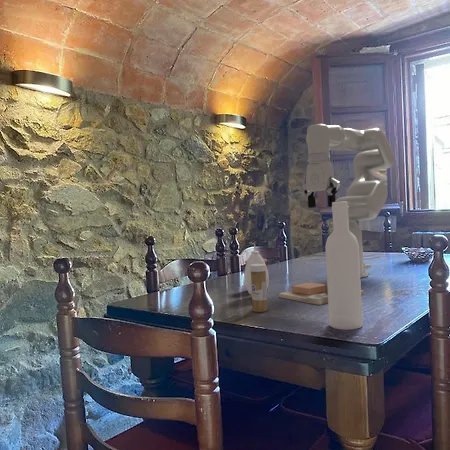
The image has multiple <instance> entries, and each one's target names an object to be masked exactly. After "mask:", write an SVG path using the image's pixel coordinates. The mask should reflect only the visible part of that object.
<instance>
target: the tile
mask: <svg viewBox="0 0 450 450" xmlns="http://www.w3.org/2000/svg"><path fill="white" fill-rule="evenodd" d="M291 291H292V292H295V293H301V294H306V295H312V294H317V293H321V292H325V284H323V283H317V282H304V283H300V284H295V285H294V284H293V285H291Z"/></svg>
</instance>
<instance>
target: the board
mask: <svg viewBox="0 0 450 450" xmlns="http://www.w3.org/2000/svg"><path fill="white" fill-rule="evenodd" d="M319 294H326V293H325V292H321V293H317V294H312V295H306V294H301V293H295V292H292V290H289V291H285V292H280V293H278V296H279V298H281V299H282V298H283V299H288V300H291V301H298V302H302V303H307V304H312V305H313V304H314V305H318V306H321V305H326V304H328V299H324V300H320V301H318V300H313V299H307V297H310V296H314V295H319ZM363 295H365V290H363V289H361V296H363Z"/></svg>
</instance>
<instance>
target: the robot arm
mask: <svg viewBox="0 0 450 450" xmlns="http://www.w3.org/2000/svg"><path fill="white" fill-rule="evenodd" d="M305 141H306V145H307V152H308V153H307V154H308V155H307V156H308V158H307V162H308V164H307V165H306V172H305V173H306V174H305V183H303V185H302V189H303V192H304V194H305V195H306V197H307V205H308V208H309V209H312V208H316V196H315V194H316V193H317V192H324V191H326V192H327V194H328V195H327V206H328V207H329V208H332V203H333V202H344V201H347V202H348V221H349V231H350V232H351V233H352V234H353V235H355V237H356V239H357V241H358V244H359V261H360V279H361V278H366V277H368V275H369V273H368V272H367V271H366V270H369V269H371V264H369V263H366V264H365V263H364V250H363V249H364V248H363V247H364V245H363V232H362V231H363V230H362V228H361V226H359V224H358V223H357V221H371V220H374V219H376V218H377V217H378V216H379V214H380V212H381V211H382V208H383V207H384V206H385V203H386V201H387V198H388V186H387V185H386V183H385V182H384V181H382V180H376V178H375V177H374V175H373V174H372V173H371V172H370V171H377V170H378V171H379V170H386V169H390V168H392V167H393V166H394V165H395V163H396V162H395V161H396V158H395V153H394V150H393V148H392V146H391V144H390V142H389V140H388V137H387V136H386V133H385V132H384V131H383V130H382V129H381V128H379V127H374V128H368V129H362V130H361V129H360V130H359V129H354V128H349V127H346V128H345V127H341V126H340V125H336V124H333V125H327V124H324V123H317V124H310V125H309V126H308V127H307V129H306V136H305ZM330 151H351V152H358V153H356V155H355V156H354V158H353V170H354V171H353V172H354V176H355V178H354V179H353V181H352V183H351V184H350V185H349V187H348V188H347V190H346V193H345V196H342V197H341V196H340V197H338V198H337V199H336V195H337V194H338V191H339V189H340V187H341V186H340V185H341V182H340V181H339V180H337V179H335V177H334V176H335V175H334V169H333V164H332V162H331V153H330Z"/></svg>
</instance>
